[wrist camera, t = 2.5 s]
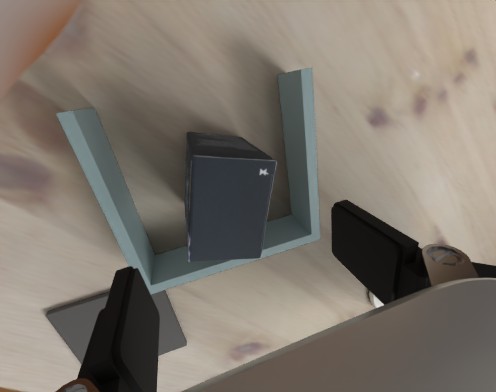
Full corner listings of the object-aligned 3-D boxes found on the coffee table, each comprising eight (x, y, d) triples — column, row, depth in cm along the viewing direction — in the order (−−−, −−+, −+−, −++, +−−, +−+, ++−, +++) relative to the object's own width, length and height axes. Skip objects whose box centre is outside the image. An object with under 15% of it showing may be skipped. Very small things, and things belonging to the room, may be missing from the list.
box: (185, 131, 23) (192, 153, 14) (241, 136, 25) (281, 159, 16) (183, 205, 26) (187, 265, 17) (233, 205, 28) (263, 260, 18)
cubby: (286, 73, 24) (312, 67, 19) (299, 219, 31) (320, 239, 26) (82, 110, 20) (55, 113, 16) (149, 264, 27) (143, 296, 23)
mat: (159, 276, 28) (158, 279, 28) (186, 341, 33) (186, 345, 33) (48, 311, 26) (45, 315, 26) (95, 375, 31) (93, 379, 31)
